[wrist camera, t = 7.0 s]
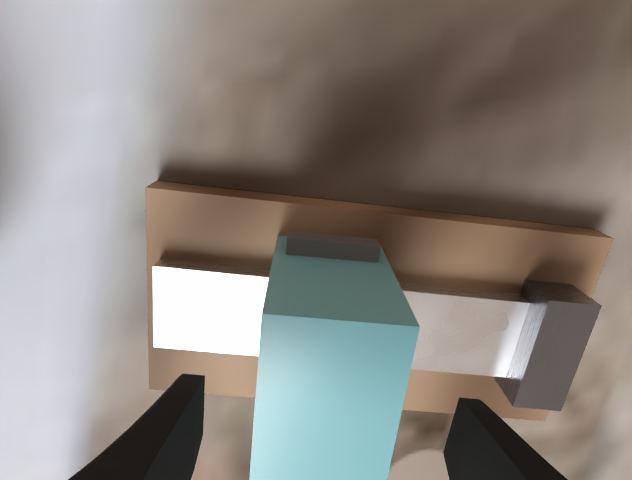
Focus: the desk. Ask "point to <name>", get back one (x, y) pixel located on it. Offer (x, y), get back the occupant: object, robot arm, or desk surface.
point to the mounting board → (400, 250)
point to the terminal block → (330, 361)
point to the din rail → (429, 310)
